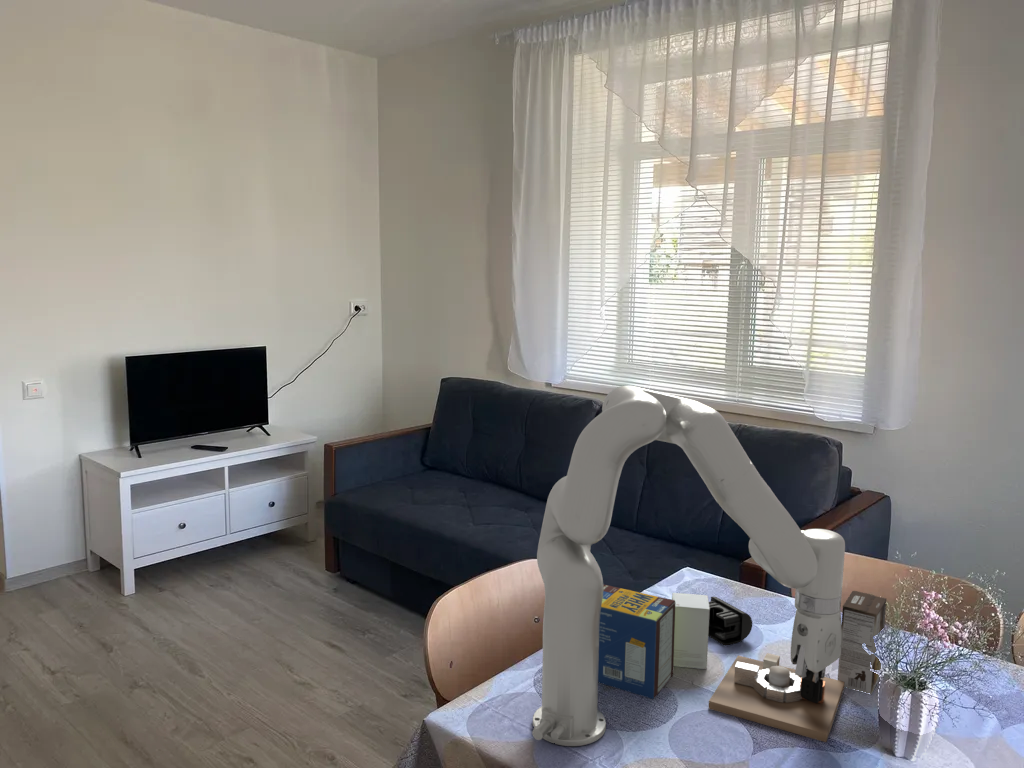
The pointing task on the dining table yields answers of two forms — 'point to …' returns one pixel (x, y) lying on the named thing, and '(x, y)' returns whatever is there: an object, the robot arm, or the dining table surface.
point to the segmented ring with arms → (760, 682)
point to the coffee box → (860, 640)
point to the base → (784, 716)
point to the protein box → (636, 641)
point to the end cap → (727, 623)
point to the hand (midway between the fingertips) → (811, 698)
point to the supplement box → (691, 630)
